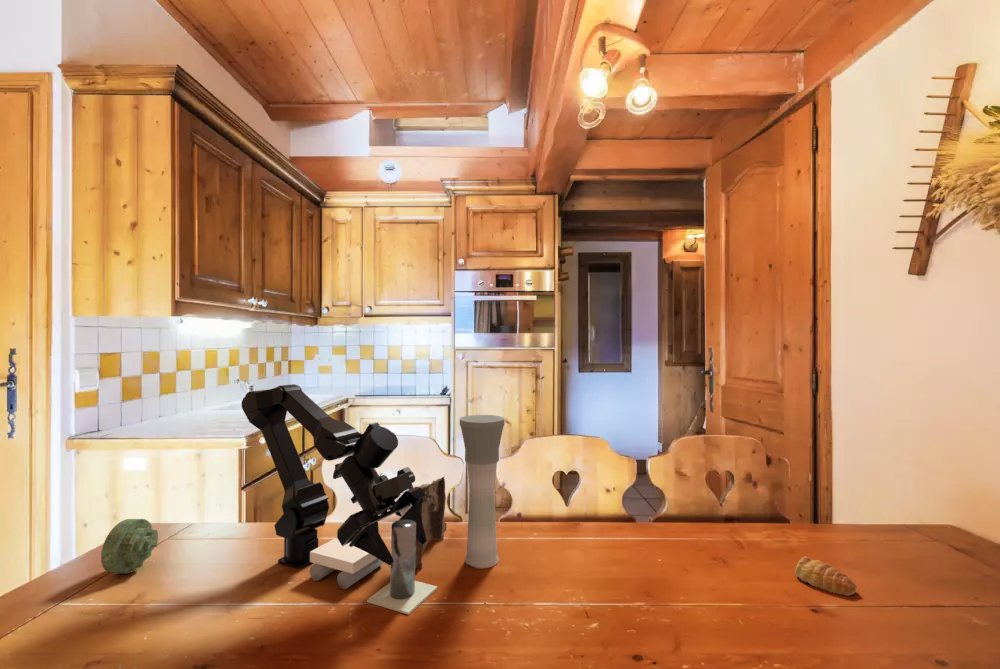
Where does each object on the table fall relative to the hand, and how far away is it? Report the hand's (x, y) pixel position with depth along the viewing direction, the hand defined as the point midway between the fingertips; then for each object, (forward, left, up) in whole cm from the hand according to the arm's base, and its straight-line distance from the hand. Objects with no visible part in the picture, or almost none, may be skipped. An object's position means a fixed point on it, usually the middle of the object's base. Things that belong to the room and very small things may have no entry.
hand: (409, 552), depth 84 cm
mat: (-1, 0, -8) cm, 8 cm away
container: (+6, +18, -8) cm, 21 cm away
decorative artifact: (-55, -15, -8) cm, 58 cm away
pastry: (+69, +38, -8) cm, 80 cm away
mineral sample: (-7, +17, -8) cm, 20 cm away
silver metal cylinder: (-2, 0, -8) cm, 8 cm away
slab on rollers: (-16, +2, -8) cm, 18 cm away
